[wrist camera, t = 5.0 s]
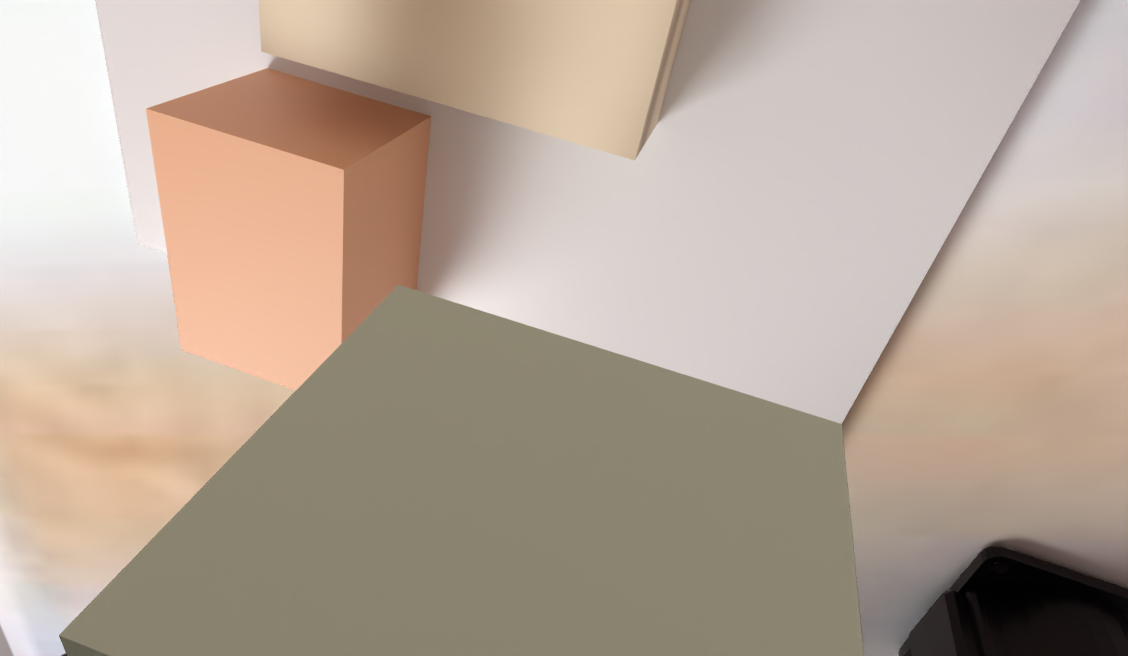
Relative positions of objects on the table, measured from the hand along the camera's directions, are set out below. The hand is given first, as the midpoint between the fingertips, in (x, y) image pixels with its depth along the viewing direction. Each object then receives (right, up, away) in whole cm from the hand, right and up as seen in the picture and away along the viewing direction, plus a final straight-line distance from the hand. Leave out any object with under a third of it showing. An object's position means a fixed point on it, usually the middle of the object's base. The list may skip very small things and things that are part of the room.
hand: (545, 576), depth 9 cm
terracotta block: (-6, +7, +12) cm, 15 cm away
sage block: (0, 0, 0) cm, 0 cm away
